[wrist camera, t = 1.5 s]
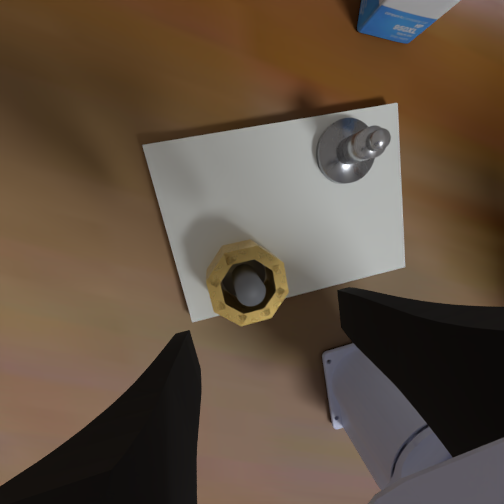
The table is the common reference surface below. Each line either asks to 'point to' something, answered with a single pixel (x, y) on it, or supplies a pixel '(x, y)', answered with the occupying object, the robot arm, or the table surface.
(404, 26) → the ink box
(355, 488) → the table surface
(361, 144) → the hub
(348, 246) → the board
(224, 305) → the ring
